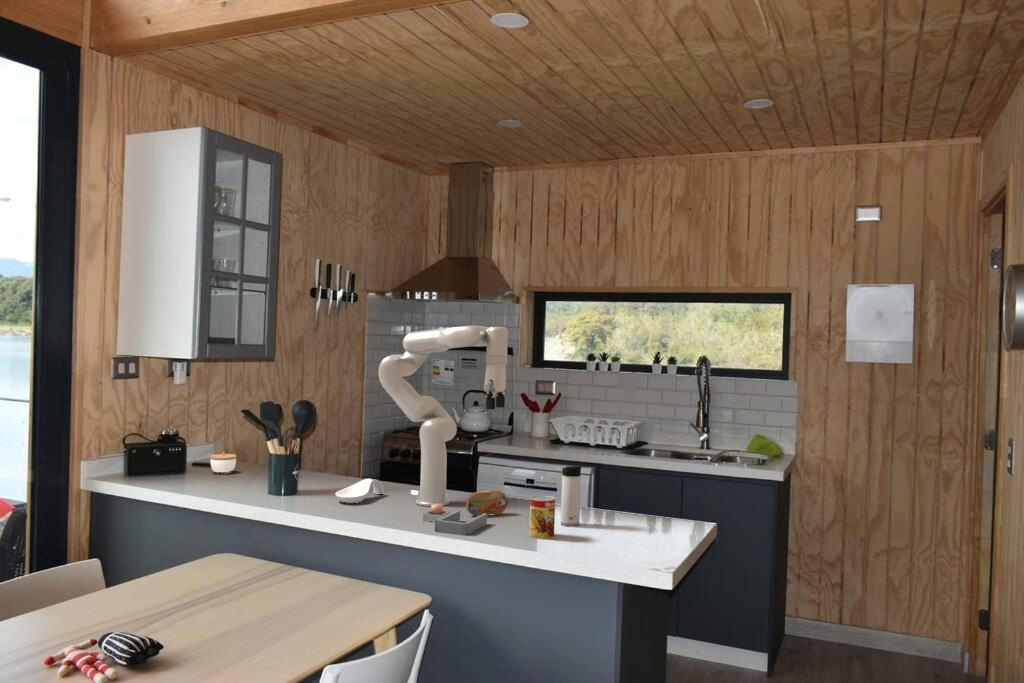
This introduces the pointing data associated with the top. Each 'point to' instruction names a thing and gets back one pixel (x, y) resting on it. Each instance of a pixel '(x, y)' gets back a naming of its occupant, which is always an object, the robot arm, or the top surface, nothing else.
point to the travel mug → (570, 496)
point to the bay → (452, 526)
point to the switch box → (434, 515)
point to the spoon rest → (359, 491)
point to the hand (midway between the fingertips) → (495, 408)
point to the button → (436, 508)
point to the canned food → (542, 517)
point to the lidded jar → (223, 462)
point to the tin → (486, 503)
